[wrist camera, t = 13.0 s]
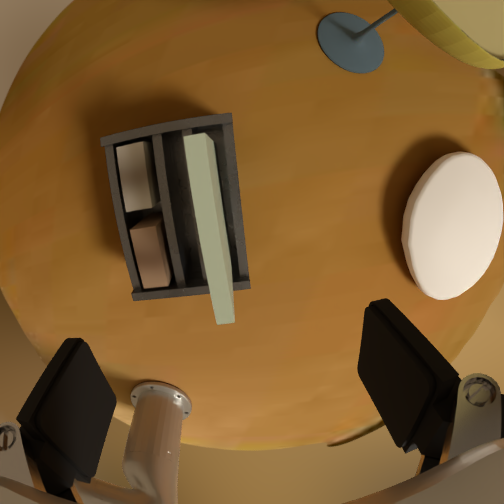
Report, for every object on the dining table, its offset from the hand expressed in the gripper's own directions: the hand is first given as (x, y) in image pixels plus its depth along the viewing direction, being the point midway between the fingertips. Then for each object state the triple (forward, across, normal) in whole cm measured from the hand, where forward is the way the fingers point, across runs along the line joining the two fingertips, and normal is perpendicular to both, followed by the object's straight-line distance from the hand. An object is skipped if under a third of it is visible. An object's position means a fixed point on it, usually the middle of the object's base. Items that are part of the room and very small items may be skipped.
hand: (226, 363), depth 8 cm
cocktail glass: (+31, -21, -23) cm, 43 cm away
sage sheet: (+30, +1, -1) cm, 30 cm away
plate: (+31, -39, +8) cm, 51 cm away
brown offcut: (+30, +9, -6) cm, 31 cm away
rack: (+31, +4, -1) cm, 31 cm away
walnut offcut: (+30, +9, +3) cm, 31 cm away
